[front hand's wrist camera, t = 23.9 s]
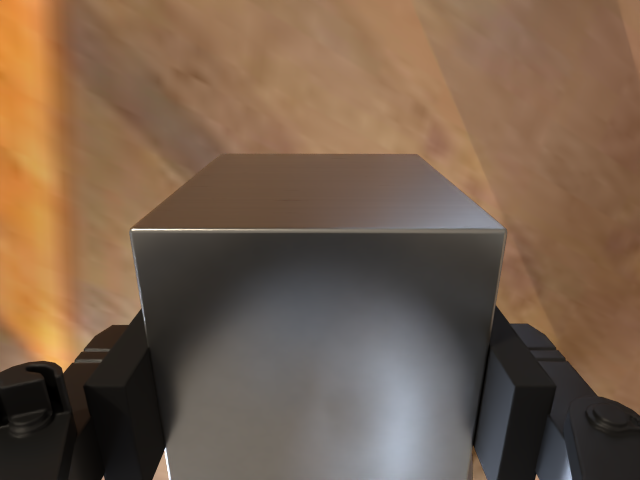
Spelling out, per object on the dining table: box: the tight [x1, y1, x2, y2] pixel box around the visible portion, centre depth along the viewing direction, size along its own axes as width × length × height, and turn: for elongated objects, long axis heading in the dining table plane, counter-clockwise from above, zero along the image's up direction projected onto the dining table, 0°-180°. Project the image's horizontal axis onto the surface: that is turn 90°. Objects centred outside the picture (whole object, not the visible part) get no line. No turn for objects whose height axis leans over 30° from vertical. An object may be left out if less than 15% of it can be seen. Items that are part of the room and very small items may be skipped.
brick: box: [129, 154, 507, 480], centre depth 13 cm, size 7×8×8 cm
